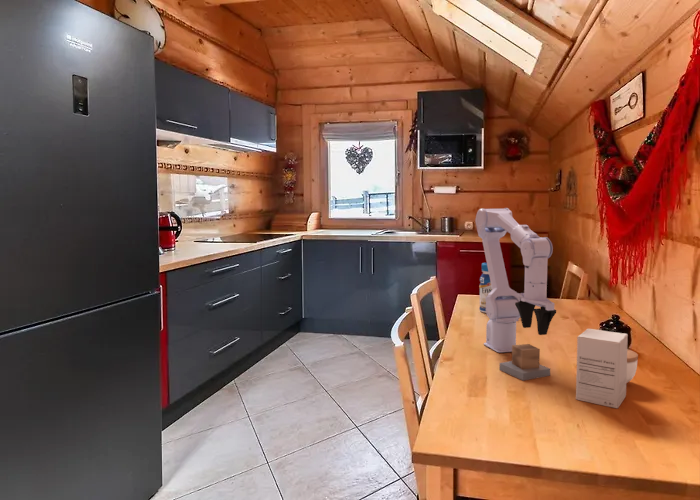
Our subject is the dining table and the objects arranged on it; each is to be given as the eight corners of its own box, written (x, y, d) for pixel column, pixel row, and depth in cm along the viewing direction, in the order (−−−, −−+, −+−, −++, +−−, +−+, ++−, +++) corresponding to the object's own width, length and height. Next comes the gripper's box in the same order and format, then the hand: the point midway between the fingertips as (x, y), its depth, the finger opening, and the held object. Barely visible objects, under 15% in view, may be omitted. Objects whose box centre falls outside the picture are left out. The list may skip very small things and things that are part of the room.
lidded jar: (610, 392, 119) (612, 353, 118) (579, 377, 129) (580, 341, 128) (647, 387, 122) (648, 349, 121) (613, 373, 132) (614, 338, 131)
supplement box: (585, 388, 122) (587, 327, 120) (626, 396, 116) (629, 333, 115) (574, 399, 115) (576, 335, 113) (617, 409, 109) (620, 342, 108)
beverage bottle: (498, 309, 211) (499, 262, 209) (501, 313, 203) (502, 264, 201) (478, 309, 212) (478, 262, 210) (480, 313, 204) (480, 264, 202)
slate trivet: (499, 372, 136) (499, 363, 135) (525, 367, 139) (525, 358, 139) (522, 382, 127) (522, 373, 127) (549, 377, 131) (550, 368, 131)
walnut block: (511, 363, 135) (512, 345, 135) (528, 362, 136) (528, 343, 136) (522, 369, 130) (522, 350, 130) (539, 367, 131) (539, 349, 131)
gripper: (508, 278, 143) (507, 325, 144) (537, 287, 129) (536, 338, 130) (530, 277, 144) (529, 323, 146) (562, 285, 130) (560, 337, 131)
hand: (534, 330), depth 138 cm, fingers open, 7 cm apart
